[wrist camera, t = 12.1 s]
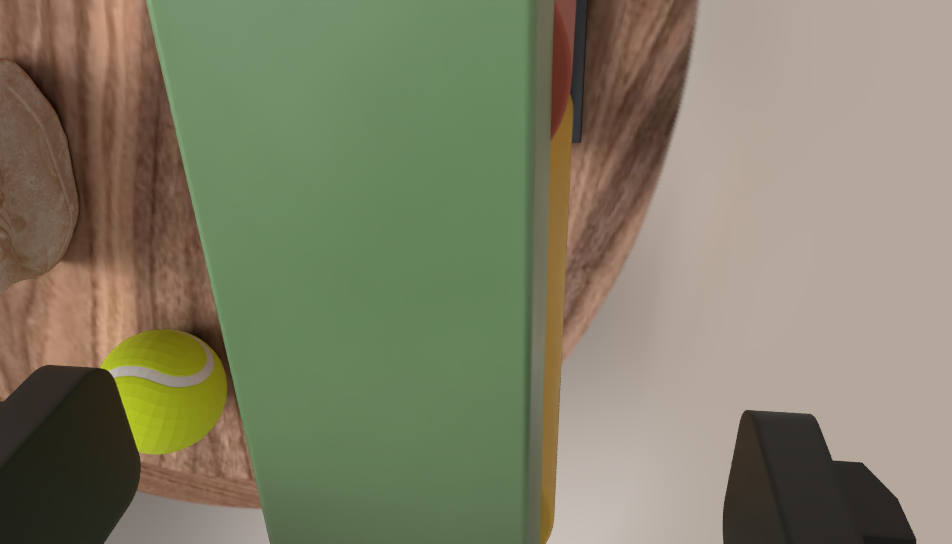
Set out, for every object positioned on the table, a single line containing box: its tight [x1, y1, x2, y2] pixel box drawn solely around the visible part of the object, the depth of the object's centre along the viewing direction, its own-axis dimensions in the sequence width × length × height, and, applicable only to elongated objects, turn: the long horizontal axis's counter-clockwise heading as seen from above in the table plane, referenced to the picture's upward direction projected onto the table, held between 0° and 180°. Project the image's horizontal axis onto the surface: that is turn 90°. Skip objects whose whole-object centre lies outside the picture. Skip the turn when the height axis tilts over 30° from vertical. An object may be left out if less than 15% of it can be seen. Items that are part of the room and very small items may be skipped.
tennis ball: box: [100, 329, 227, 454], centre depth 42 cm, size 7×7×7 cm
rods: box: [540, 0, 588, 544], centre depth 22 cm, size 12×4×24 cm, turn 1°
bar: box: [146, 0, 554, 544], centre depth 10 cm, size 14×3×4 cm, turn 1°
